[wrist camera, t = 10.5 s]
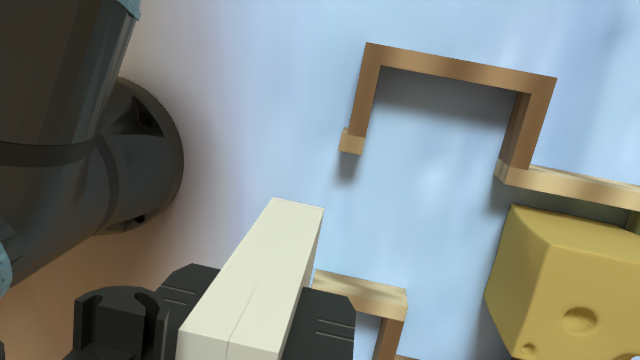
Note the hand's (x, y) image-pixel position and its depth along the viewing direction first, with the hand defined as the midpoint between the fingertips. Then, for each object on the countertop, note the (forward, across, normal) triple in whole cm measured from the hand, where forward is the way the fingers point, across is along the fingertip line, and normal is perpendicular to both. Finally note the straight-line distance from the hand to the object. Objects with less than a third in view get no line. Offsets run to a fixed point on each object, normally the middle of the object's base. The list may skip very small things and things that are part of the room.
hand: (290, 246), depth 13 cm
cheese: (+30, +21, -9) cm, 38 cm away
